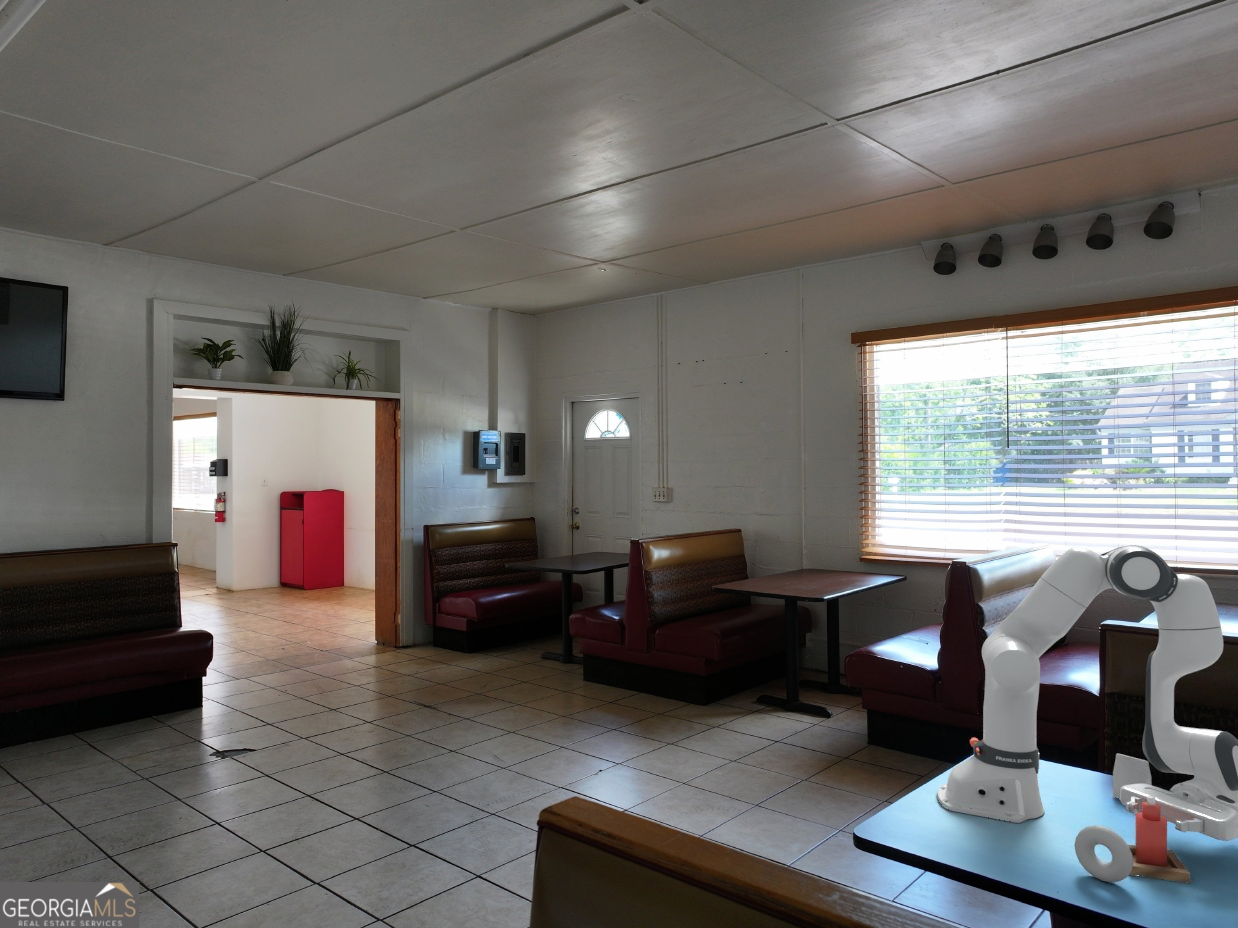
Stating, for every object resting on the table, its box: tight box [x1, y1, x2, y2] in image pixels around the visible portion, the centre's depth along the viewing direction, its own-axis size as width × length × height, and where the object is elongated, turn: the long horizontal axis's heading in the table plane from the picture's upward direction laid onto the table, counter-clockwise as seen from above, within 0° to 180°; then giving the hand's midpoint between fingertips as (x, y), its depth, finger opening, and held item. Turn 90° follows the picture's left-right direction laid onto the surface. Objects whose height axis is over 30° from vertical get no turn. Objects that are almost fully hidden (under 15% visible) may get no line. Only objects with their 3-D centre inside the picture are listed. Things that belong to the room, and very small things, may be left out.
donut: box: [1074, 824, 1133, 884], centre depth 156 cm, size 10×4×10 cm, turn 39°
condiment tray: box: [1127, 844, 1191, 884], centre depth 162 cm, size 10×10×2 cm
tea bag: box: [1112, 753, 1152, 799], centre depth 194 cm, size 4×7×10 cm, turn 38°
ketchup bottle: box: [1134, 796, 1168, 867], centre depth 162 cm, size 5×5×13 cm
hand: (1153, 817), depth 162 cm, fingers open, 8 cm apart
